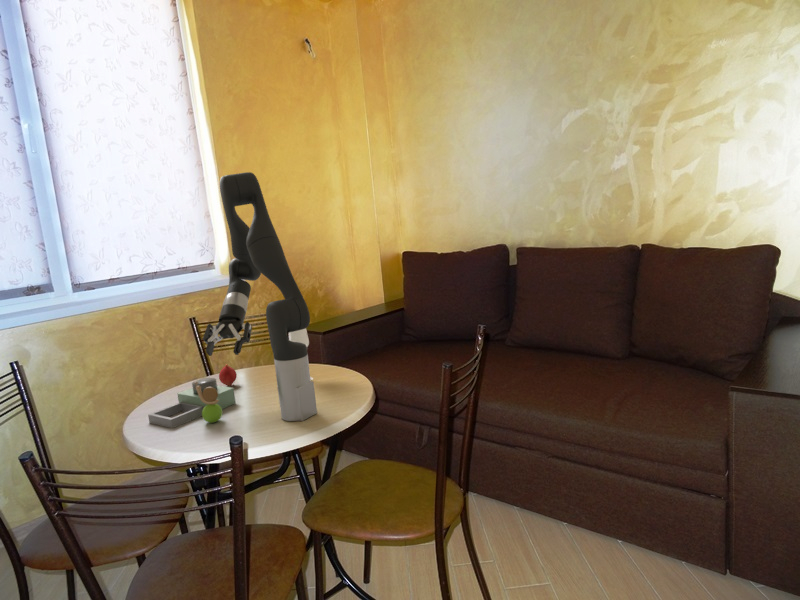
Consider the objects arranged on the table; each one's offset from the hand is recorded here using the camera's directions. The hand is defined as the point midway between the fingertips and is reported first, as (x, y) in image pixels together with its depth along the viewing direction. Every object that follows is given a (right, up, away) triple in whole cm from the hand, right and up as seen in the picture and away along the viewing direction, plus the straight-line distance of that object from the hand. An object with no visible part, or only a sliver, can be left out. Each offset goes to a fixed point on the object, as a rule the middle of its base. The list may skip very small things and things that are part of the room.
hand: (222, 354), depth 155 cm
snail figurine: (0, -19, -9) cm, 21 cm away
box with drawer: (-9, -18, +1) cm, 20 cm away
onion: (-6, -14, +24) cm, 29 cm away
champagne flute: (+20, -12, +24) cm, 33 cm away
